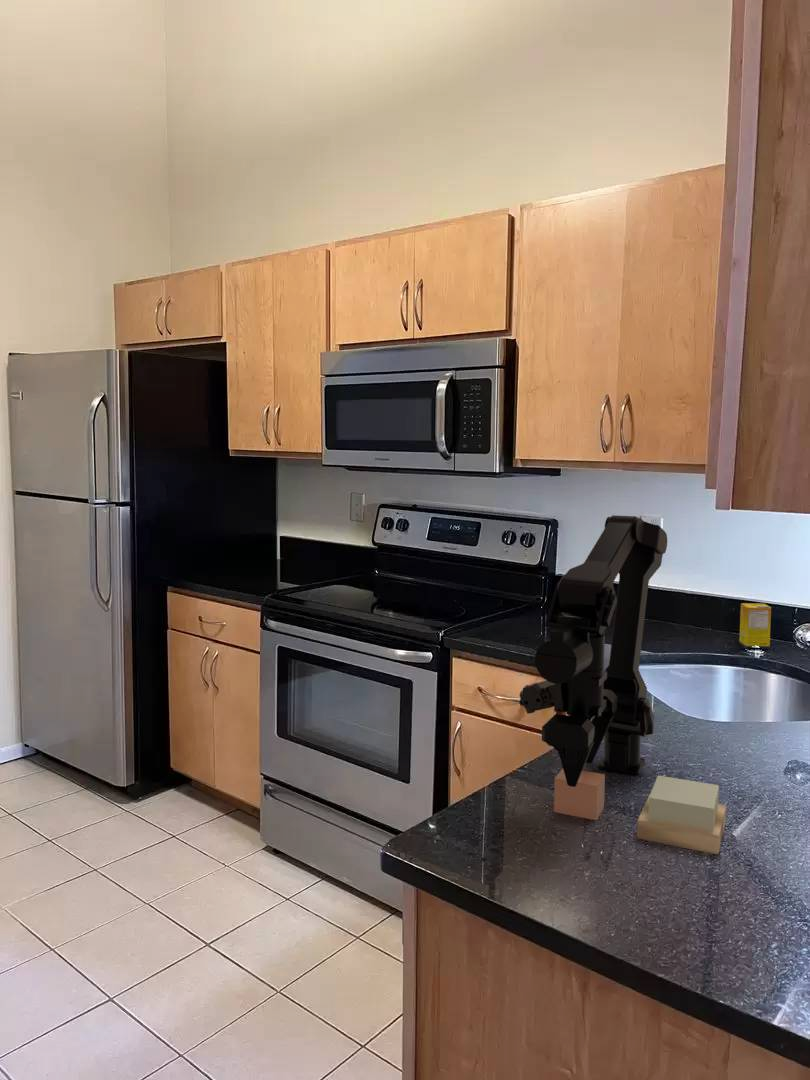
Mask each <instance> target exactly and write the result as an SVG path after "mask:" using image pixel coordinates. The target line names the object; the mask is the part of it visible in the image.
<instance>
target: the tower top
mask: <svg viewBox="0 0 810 1080" xmlns="http://www.w3.org/2000/svg"><path fill="white" fill-rule="evenodd" d="M719 789H720V785H719V784H713V783H707V782H701V781H694V780H688V779H683V778H681V779H680V778H678V777H677V778H676V777H670V776H664V775H657V776H656V779H655V781H654V783H653V787H652V789H651V791H650V793H651V794H650V793H649V795H650V796H648V797H649V811H648V819H649V820H654V821H660V822H665V823H671V824H676V825H681V826H687V827H692V828H698V829H703V830H708V831H713V829H714V824H715V819H716V814H717V809H718V804H719V794H720V793H719V792H720V790H719Z"/></svg>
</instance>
